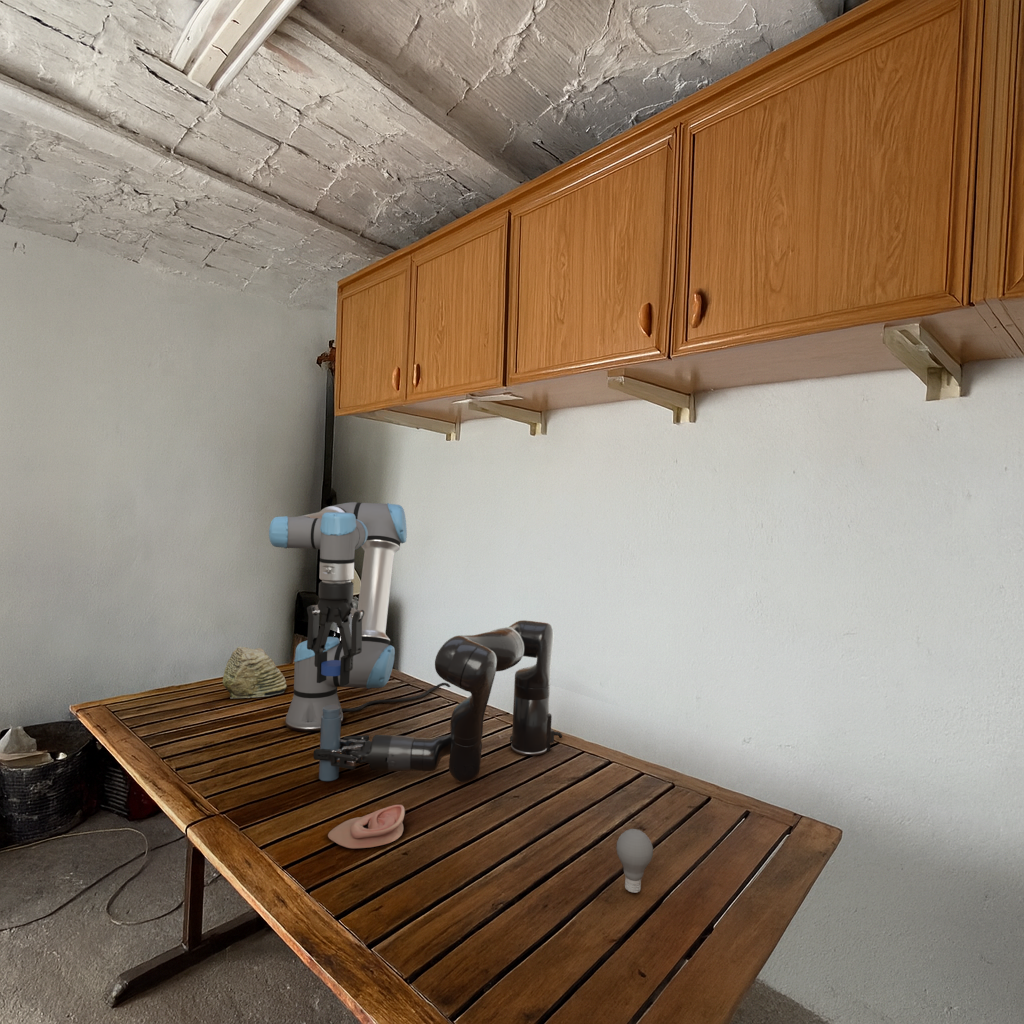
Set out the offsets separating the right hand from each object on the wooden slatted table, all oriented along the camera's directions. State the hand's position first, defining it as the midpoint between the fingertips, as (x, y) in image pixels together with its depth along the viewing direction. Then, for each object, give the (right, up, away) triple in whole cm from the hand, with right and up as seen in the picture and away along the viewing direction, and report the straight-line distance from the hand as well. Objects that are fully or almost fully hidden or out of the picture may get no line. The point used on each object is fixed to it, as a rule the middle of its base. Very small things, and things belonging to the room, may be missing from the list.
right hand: (318, 749), depth 143 cm
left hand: (+3, +15, 0) cm, 15 cm away
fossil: (-37, -3, +55) cm, 66 cm away
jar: (+2, -6, 0) cm, 7 cm away
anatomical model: (+16, -7, -23) cm, 29 cm away
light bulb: (+64, -10, -38) cm, 75 cm away
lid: (+3, +19, 0) cm, 20 cm away
